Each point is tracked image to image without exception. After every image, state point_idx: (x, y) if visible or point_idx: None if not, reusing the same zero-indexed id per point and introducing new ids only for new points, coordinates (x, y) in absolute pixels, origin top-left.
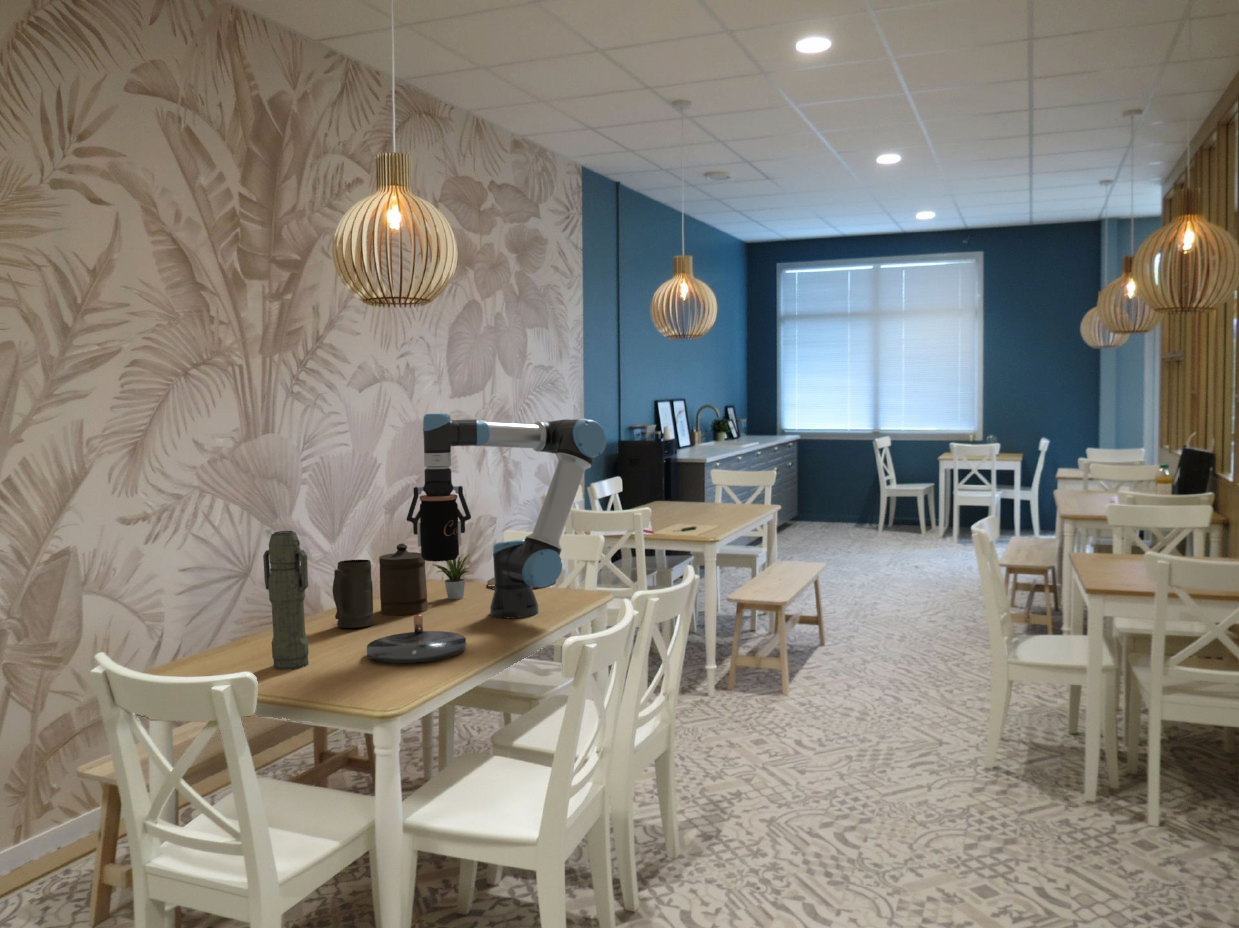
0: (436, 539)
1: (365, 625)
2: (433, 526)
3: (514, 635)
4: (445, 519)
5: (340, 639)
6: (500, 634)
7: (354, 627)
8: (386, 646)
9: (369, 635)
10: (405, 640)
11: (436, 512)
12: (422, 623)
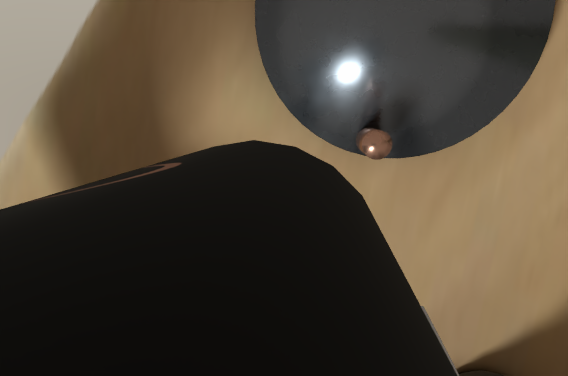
0: (286, 165)
1: (461, 374)
2: (307, 221)
3: (116, 103)
4: (17, 214)
5: (545, 285)
6: (149, 132)
7: (491, 372)
8: (494, 3)
9: (466, 290)
10: (424, 57)
11: (120, 346)
12: (360, 136)
